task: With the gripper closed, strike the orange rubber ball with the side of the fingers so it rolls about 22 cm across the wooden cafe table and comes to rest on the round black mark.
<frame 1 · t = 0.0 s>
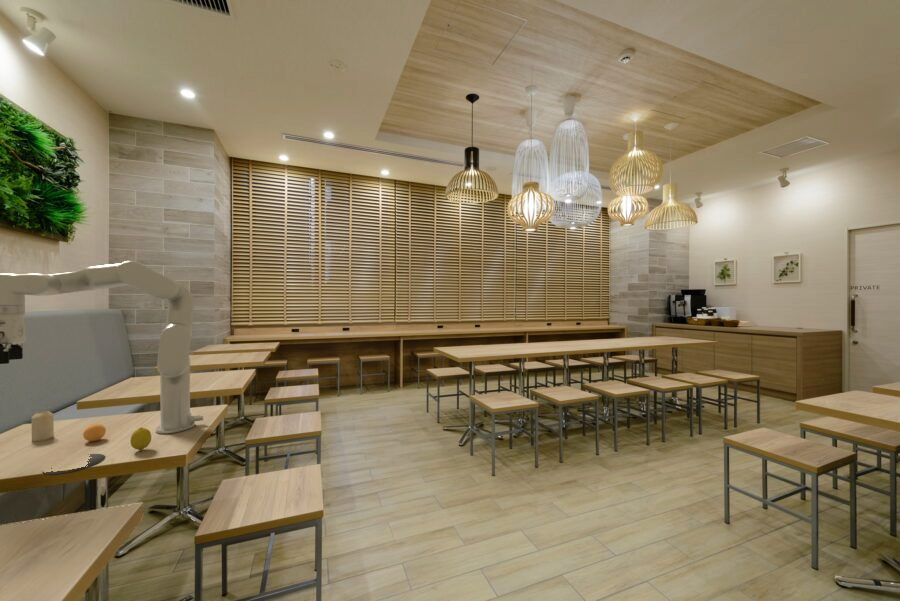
hand: (8, 361, 125), 31 cm above the table, tool pointing down, fingers open, 9 cm apart
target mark: (75, 463, 118), on the table
lemon: (141, 451, 128), on the table
ball: (94, 432, 136), on the table
candle: (42, 439, 138), on the table
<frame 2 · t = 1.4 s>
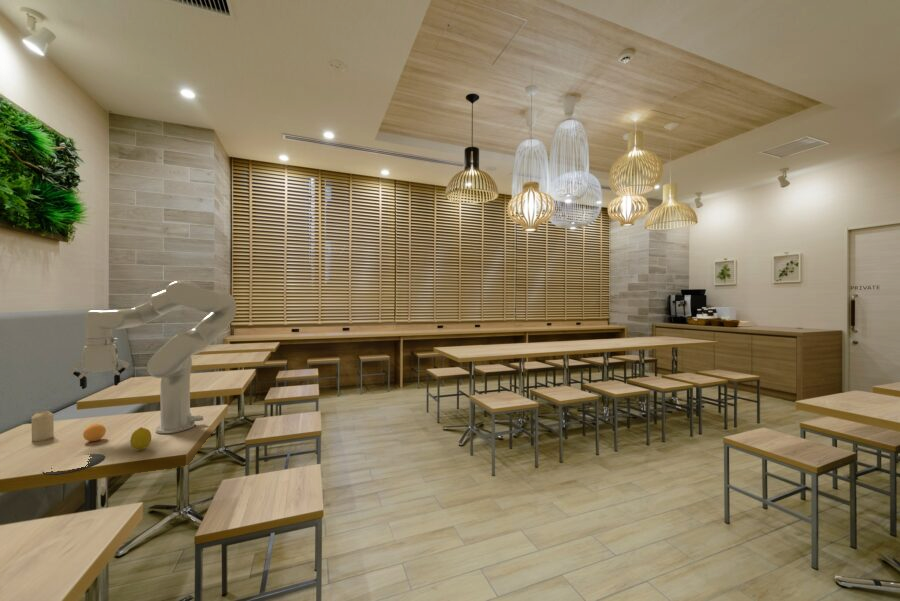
hand: (100, 386, 144), 18 cm above the table, tool pointing down, fingers open, 8 cm apart
nothing on the table moved.
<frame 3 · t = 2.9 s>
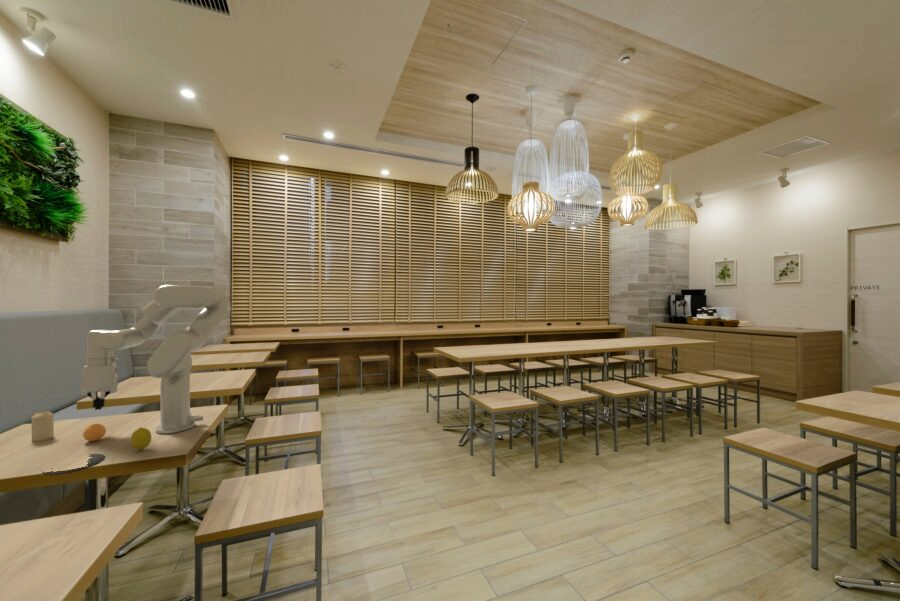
hand: (98, 408, 144), 9 cm above the table, tool pointing down, fingers closed
nothing on the table moved.
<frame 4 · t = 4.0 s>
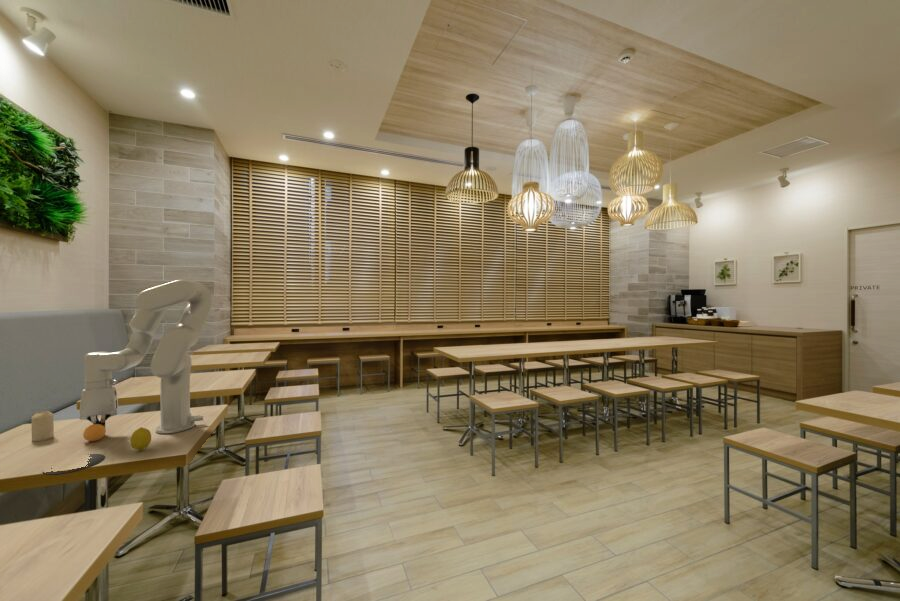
hand: (99, 432, 141), 1 cm above the table, tool pointing down, fingers closed
nothing on the table moved.
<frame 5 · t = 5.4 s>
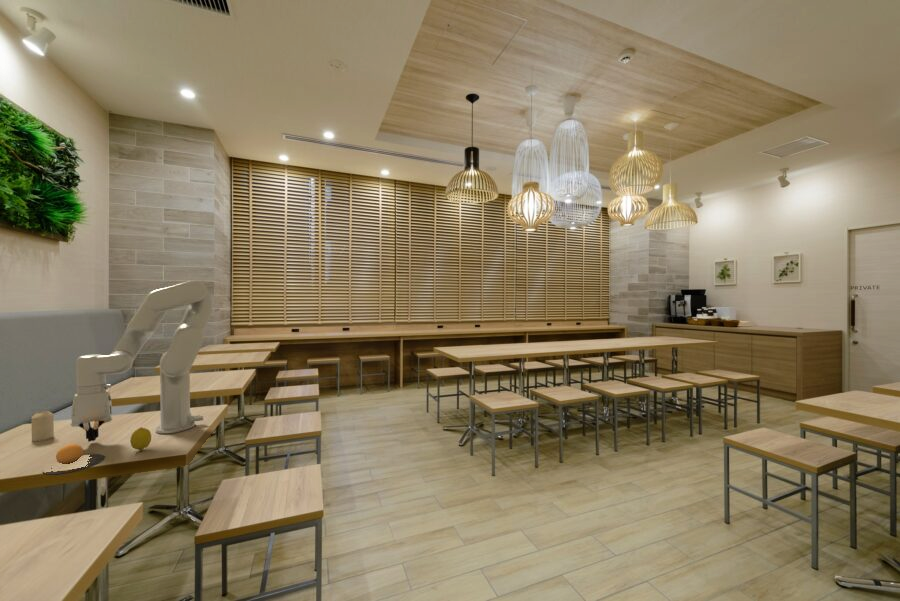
hand: (92, 439, 134), 1 cm above the table, tool pointing down, fingers closed
ball: (69, 453, 118), on the table
everything else where it was.
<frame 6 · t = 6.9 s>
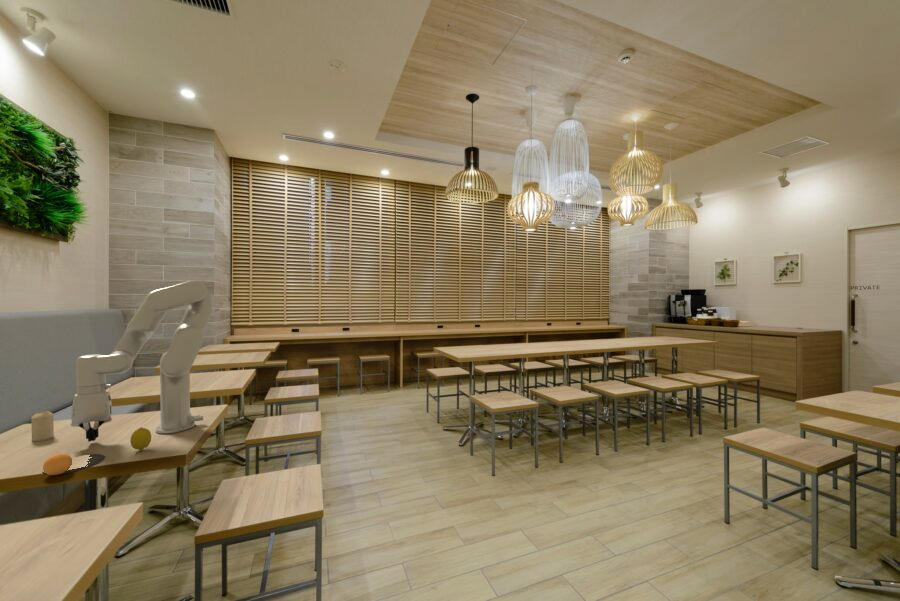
hand: (92, 439, 134), 1 cm above the table, tool pointing down, fingers closed
ball: (57, 464, 111), on the table
everything else where it was.
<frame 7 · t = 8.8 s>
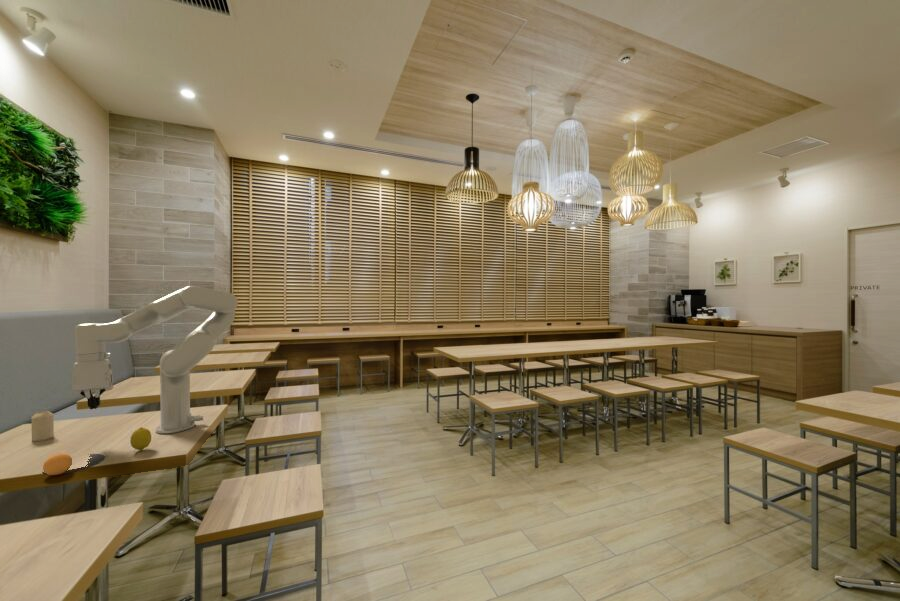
hand: (94, 408, 134), 13 cm above the table, tool pointing down, fingers closed
nothing on the table moved.
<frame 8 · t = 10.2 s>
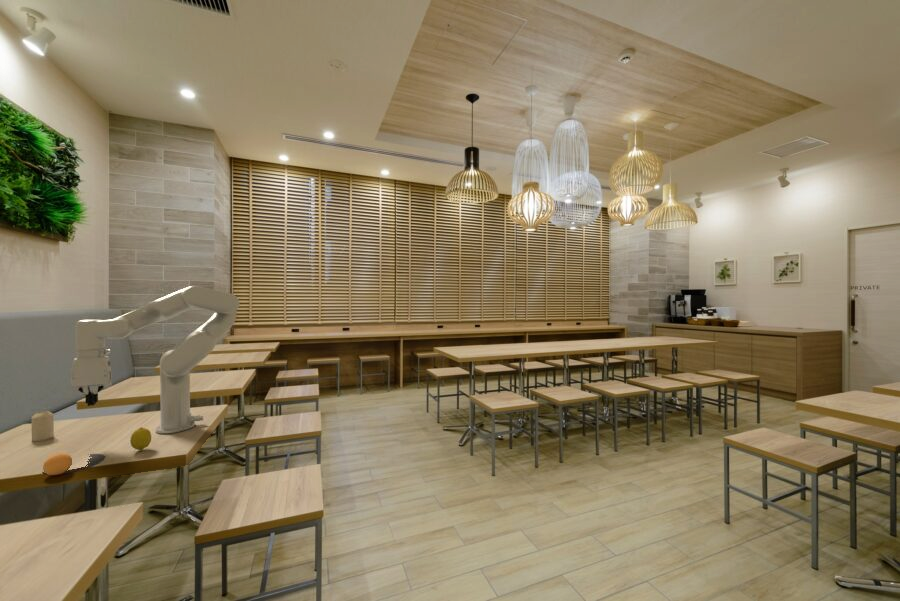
hand: (91, 404, 133), 14 cm above the table, tool pointing down, fingers closed
nothing on the table moved.
at the end: ball 6.8 cm from the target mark (horizontally); ball at rest at the end (0.0 cm/s); ball moved 28.5 cm from its start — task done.
